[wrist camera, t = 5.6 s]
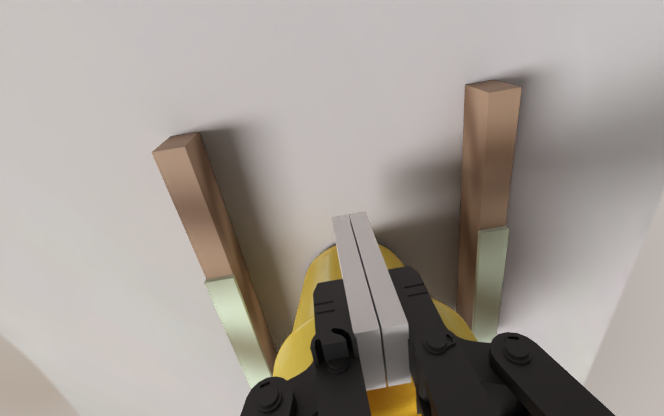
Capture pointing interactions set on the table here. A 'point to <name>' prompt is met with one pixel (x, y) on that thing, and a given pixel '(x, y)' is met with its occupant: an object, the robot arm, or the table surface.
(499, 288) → the pair of brown bars
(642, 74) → the table surface
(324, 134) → the table surface
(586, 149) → the table surface
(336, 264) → the plant pot
